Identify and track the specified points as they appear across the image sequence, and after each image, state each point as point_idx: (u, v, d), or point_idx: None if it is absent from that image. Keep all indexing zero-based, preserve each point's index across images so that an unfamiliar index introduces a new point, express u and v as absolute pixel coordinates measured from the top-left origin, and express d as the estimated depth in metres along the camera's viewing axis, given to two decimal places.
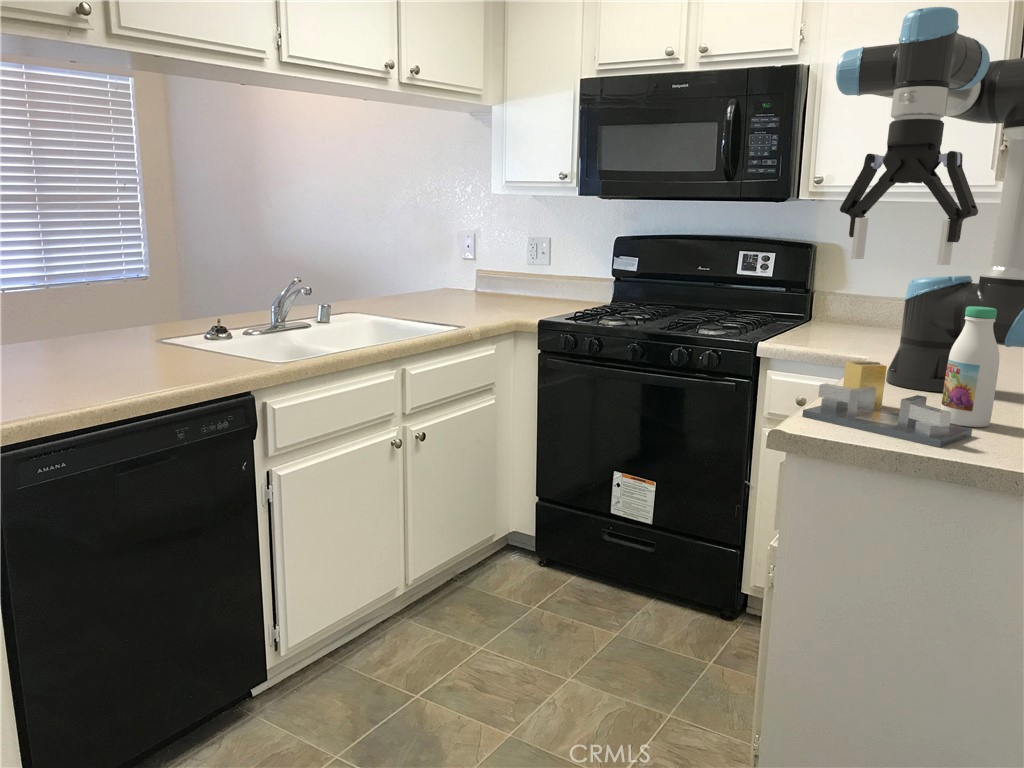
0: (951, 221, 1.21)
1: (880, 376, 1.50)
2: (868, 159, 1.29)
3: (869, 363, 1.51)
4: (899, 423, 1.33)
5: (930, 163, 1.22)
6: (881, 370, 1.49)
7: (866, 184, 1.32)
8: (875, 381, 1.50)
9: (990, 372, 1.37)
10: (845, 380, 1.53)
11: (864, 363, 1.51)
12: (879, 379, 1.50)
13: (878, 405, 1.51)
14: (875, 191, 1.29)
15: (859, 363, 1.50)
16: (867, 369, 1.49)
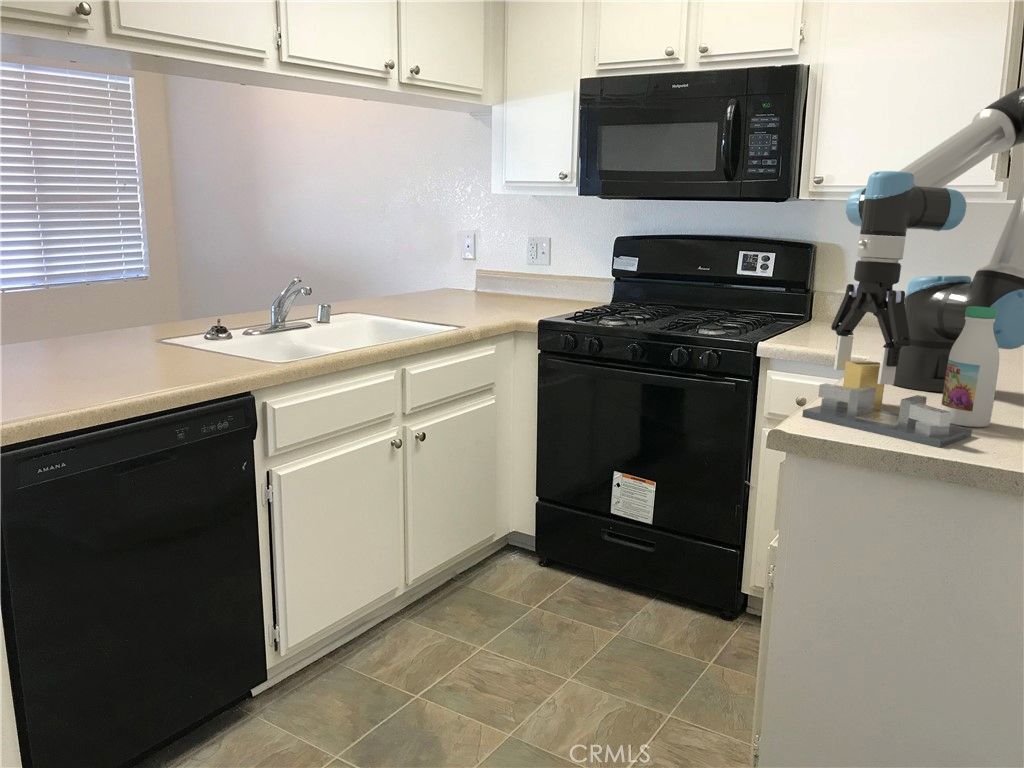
0: (889, 348, 1.43)
1: None
2: (848, 288, 1.54)
3: (869, 363, 1.51)
4: (899, 423, 1.33)
5: (880, 298, 1.45)
6: None
7: (850, 308, 1.56)
8: (875, 381, 1.50)
9: (990, 372, 1.37)
10: (845, 380, 1.54)
11: (864, 363, 1.51)
12: None
13: (878, 405, 1.51)
14: (850, 316, 1.54)
15: (859, 363, 1.50)
16: (867, 369, 1.49)
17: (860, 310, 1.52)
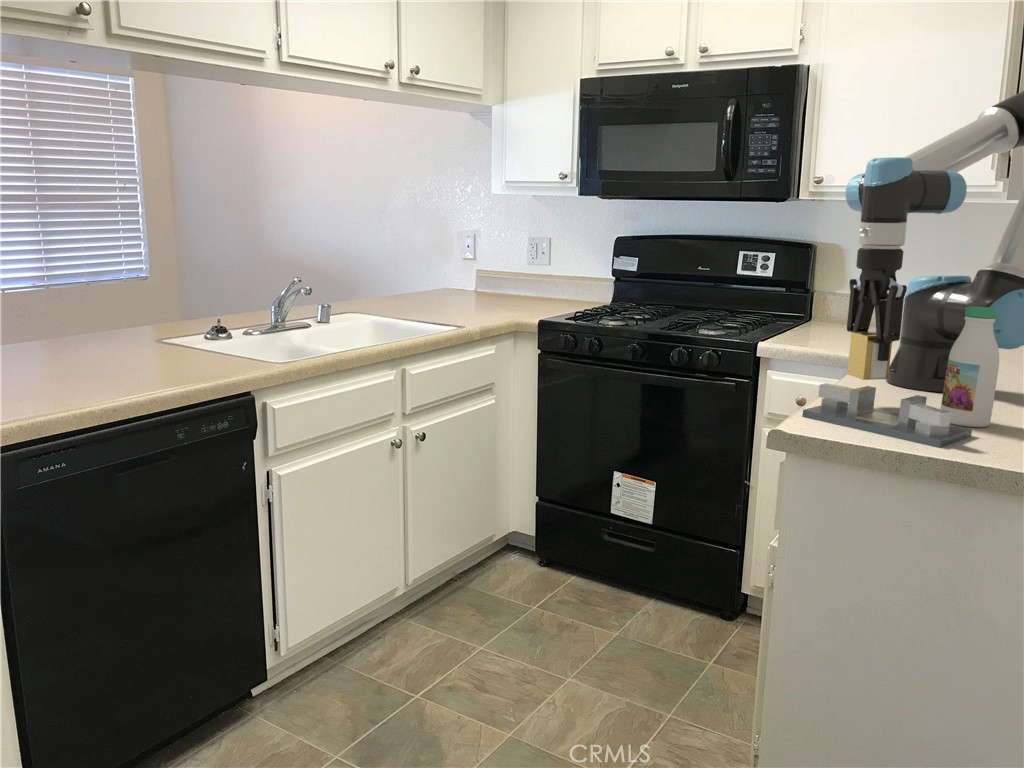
0: (879, 343, 1.47)
1: None
2: (851, 284, 1.54)
3: (875, 333, 1.50)
4: (899, 423, 1.33)
5: (882, 285, 1.45)
6: None
7: None
8: None
9: (990, 372, 1.37)
10: (851, 351, 1.53)
11: (870, 333, 1.50)
12: None
13: None
14: (860, 310, 1.52)
15: (865, 333, 1.50)
16: (873, 339, 1.48)
17: (868, 301, 1.51)
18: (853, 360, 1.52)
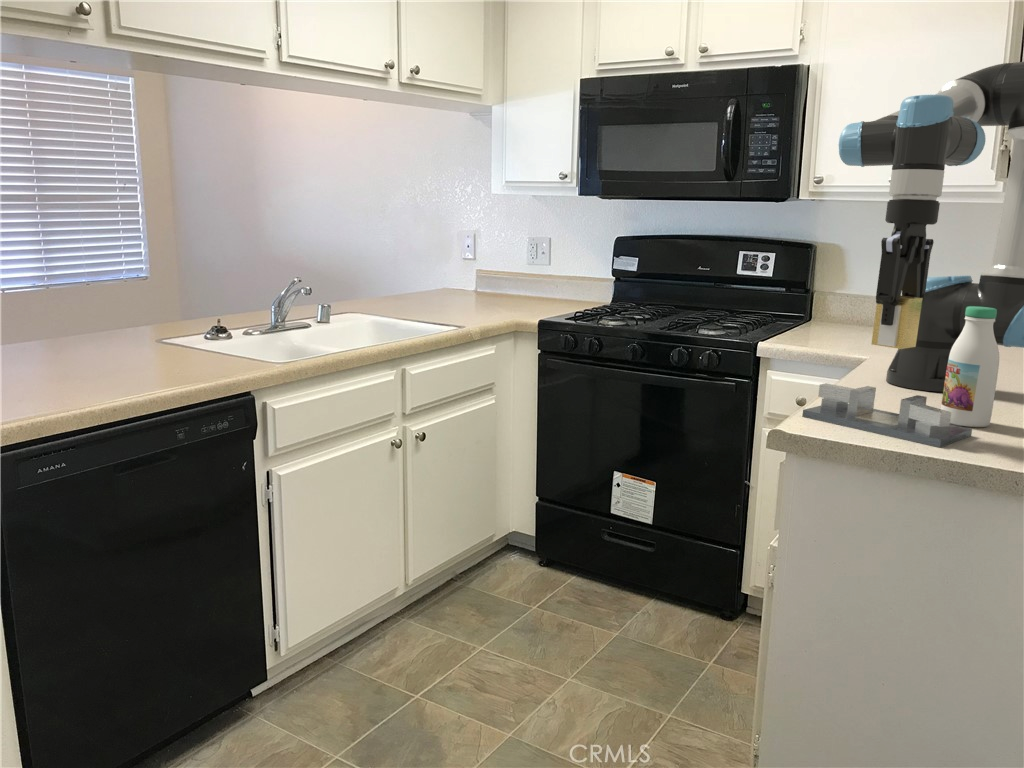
0: None
1: None
2: None
3: (900, 296, 1.33)
4: (899, 423, 1.33)
5: None
6: (901, 303, 1.31)
7: None
8: None
9: (990, 372, 1.37)
10: None
11: None
12: None
13: (898, 344, 1.32)
14: None
15: None
16: None
17: None
18: None
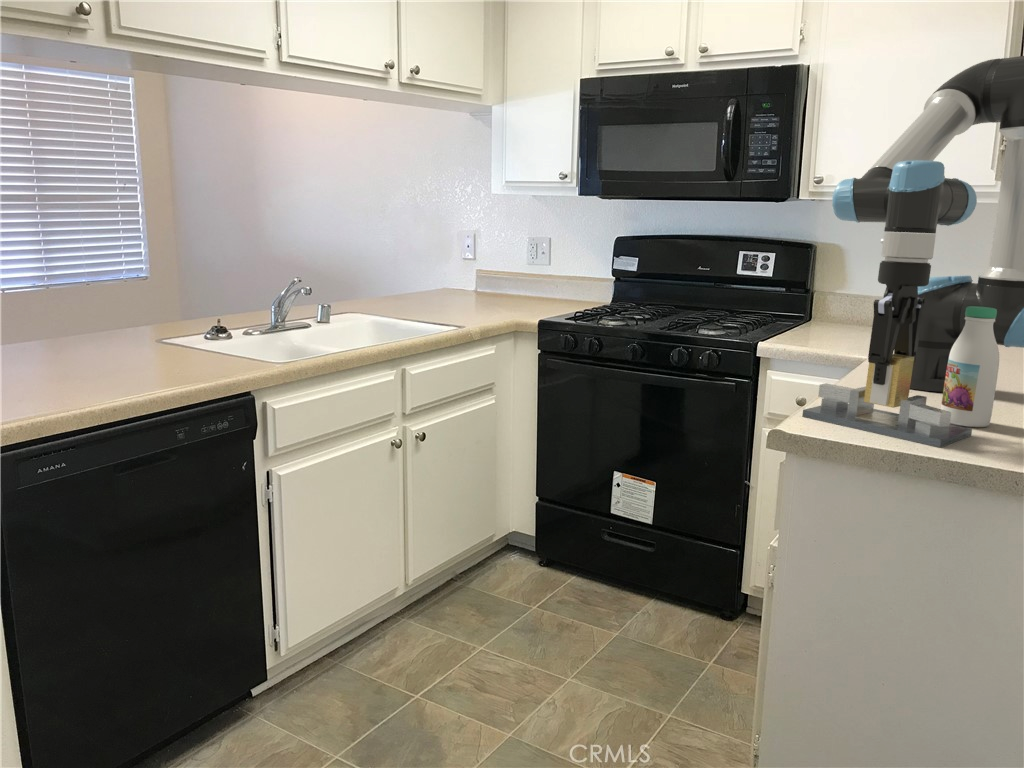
0: None
1: None
2: None
3: None
4: (899, 423, 1.33)
5: None
6: (893, 363, 1.33)
7: None
8: None
9: (990, 372, 1.37)
10: None
11: None
12: None
13: (890, 403, 1.34)
14: None
15: None
16: None
17: None
18: None
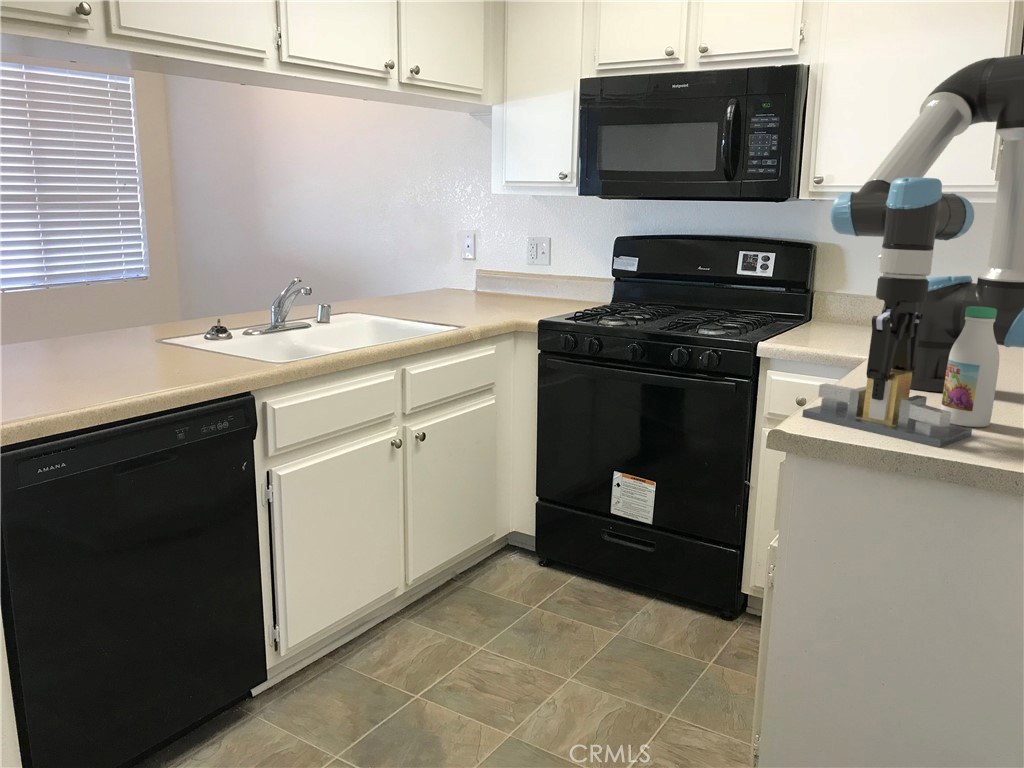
0: None
1: (891, 385, 1.34)
2: None
3: None
4: (899, 423, 1.33)
5: None
6: (892, 379, 1.34)
7: None
8: None
9: (990, 372, 1.37)
10: None
11: None
12: None
13: (888, 418, 1.35)
14: None
15: None
16: None
17: None
18: None
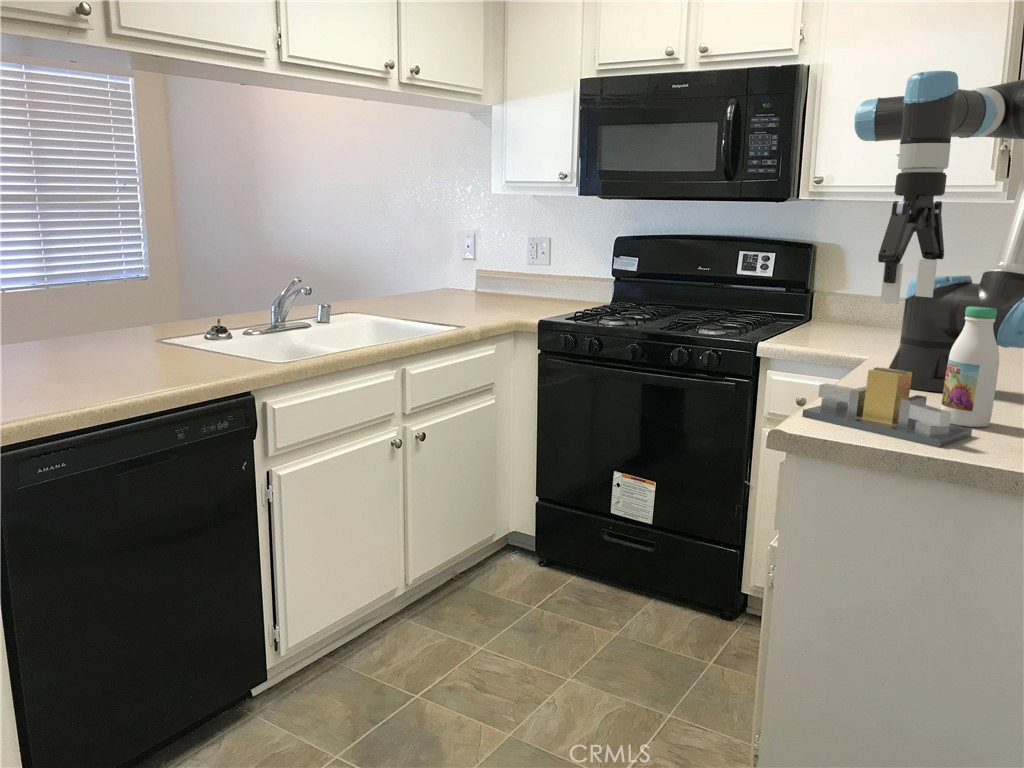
0: None
1: (890, 385, 1.34)
2: None
3: (890, 371, 1.36)
4: (899, 423, 1.33)
5: None
6: (891, 379, 1.34)
7: (933, 228, 1.42)
8: (884, 390, 1.35)
9: (990, 372, 1.37)
10: None
11: (884, 370, 1.36)
12: (889, 389, 1.34)
13: (888, 418, 1.35)
14: None
15: (878, 369, 1.37)
16: (875, 375, 1.36)
17: (921, 228, 1.40)
18: None
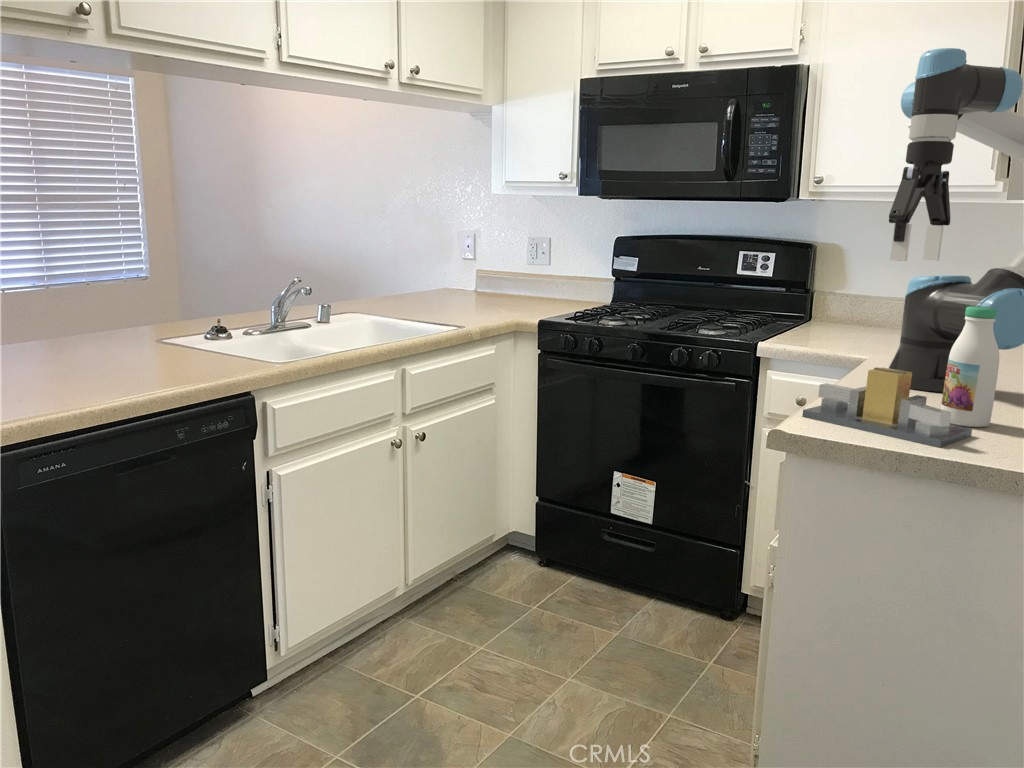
0: None
1: (890, 385, 1.34)
2: None
3: (890, 371, 1.36)
4: (899, 423, 1.33)
5: None
6: (891, 379, 1.34)
7: (940, 196, 1.54)
8: (884, 390, 1.35)
9: (990, 372, 1.37)
10: None
11: (884, 370, 1.36)
12: (889, 389, 1.34)
13: (888, 418, 1.35)
14: None
15: (878, 369, 1.37)
16: (875, 375, 1.36)
17: (929, 195, 1.52)
18: None
